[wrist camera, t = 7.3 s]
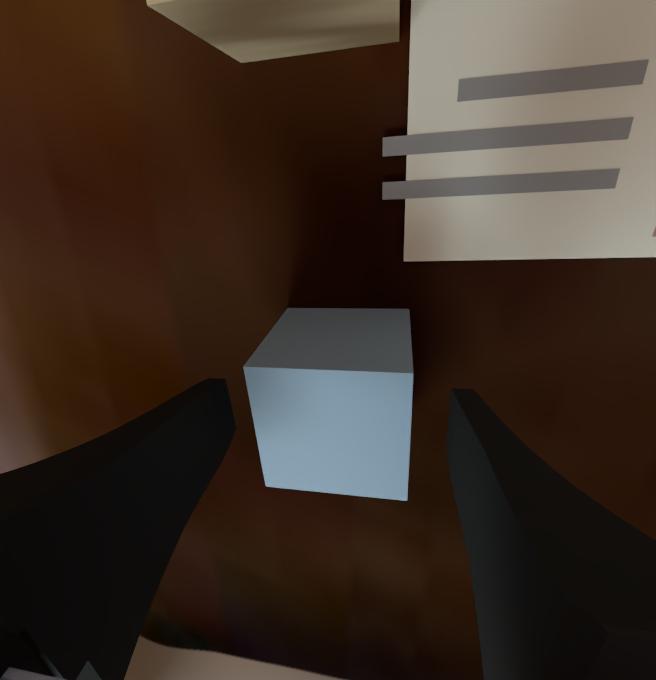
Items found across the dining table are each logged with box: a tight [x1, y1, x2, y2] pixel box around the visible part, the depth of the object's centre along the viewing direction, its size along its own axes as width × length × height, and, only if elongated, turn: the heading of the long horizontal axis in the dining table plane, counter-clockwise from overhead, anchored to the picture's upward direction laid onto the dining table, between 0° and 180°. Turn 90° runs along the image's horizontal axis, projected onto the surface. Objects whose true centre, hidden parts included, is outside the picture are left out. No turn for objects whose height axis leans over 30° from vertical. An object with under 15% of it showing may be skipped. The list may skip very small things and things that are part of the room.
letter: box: [382, 0, 656, 262], centre depth 9 cm, size 11×8×1 cm
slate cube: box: [243, 308, 413, 501], centre depth 12 cm, size 4×4×4 cm
